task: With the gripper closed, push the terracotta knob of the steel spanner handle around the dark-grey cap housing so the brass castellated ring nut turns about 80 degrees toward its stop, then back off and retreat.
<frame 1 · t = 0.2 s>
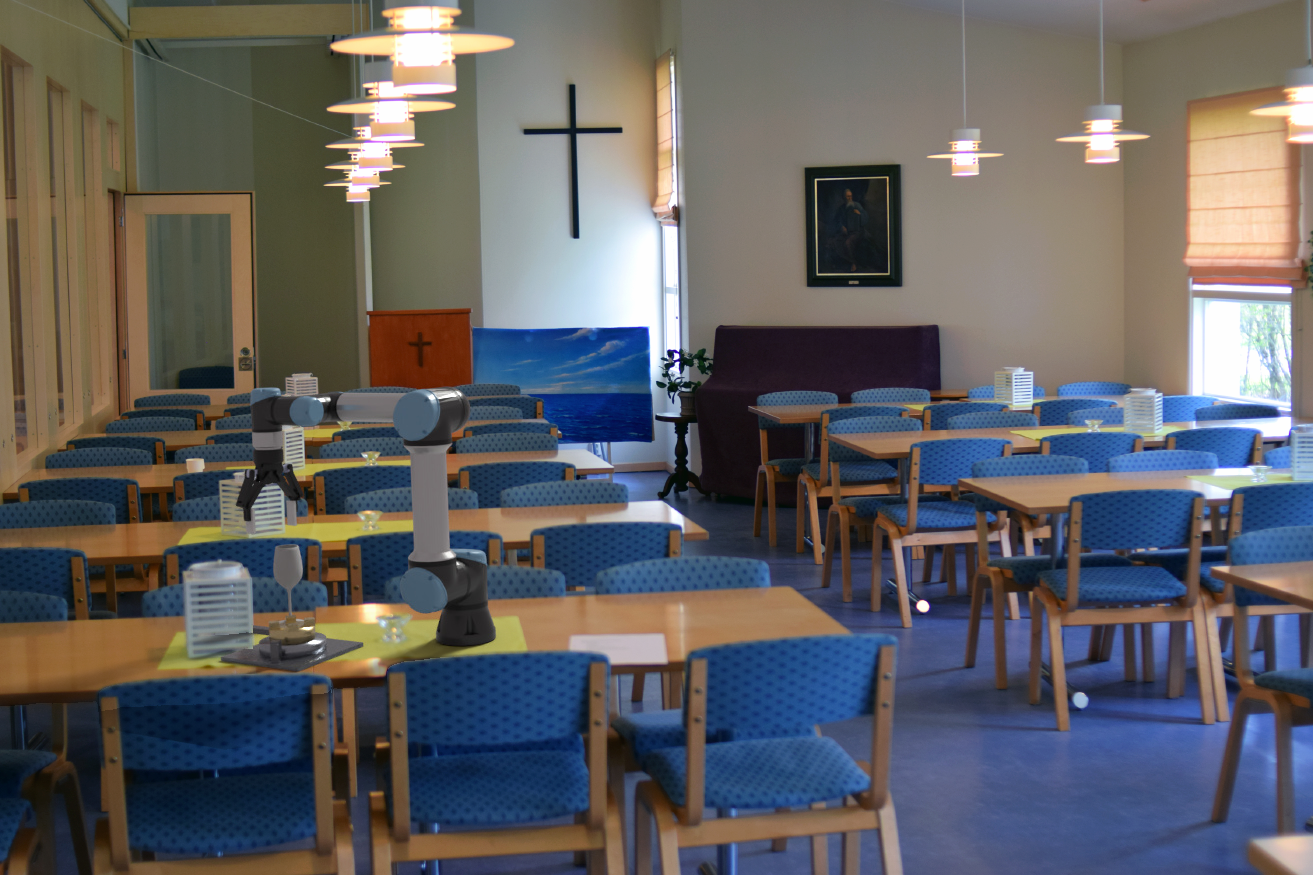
hand: (272, 529, 339), 28 cm above the table, fingers open, 13 cm apart
ring nut: (272, 621, 325), point 7 cm above the table, hinge at 0.0°
wineglass: (290, 623, 354), on the table
housing: (293, 653, 323), on the table
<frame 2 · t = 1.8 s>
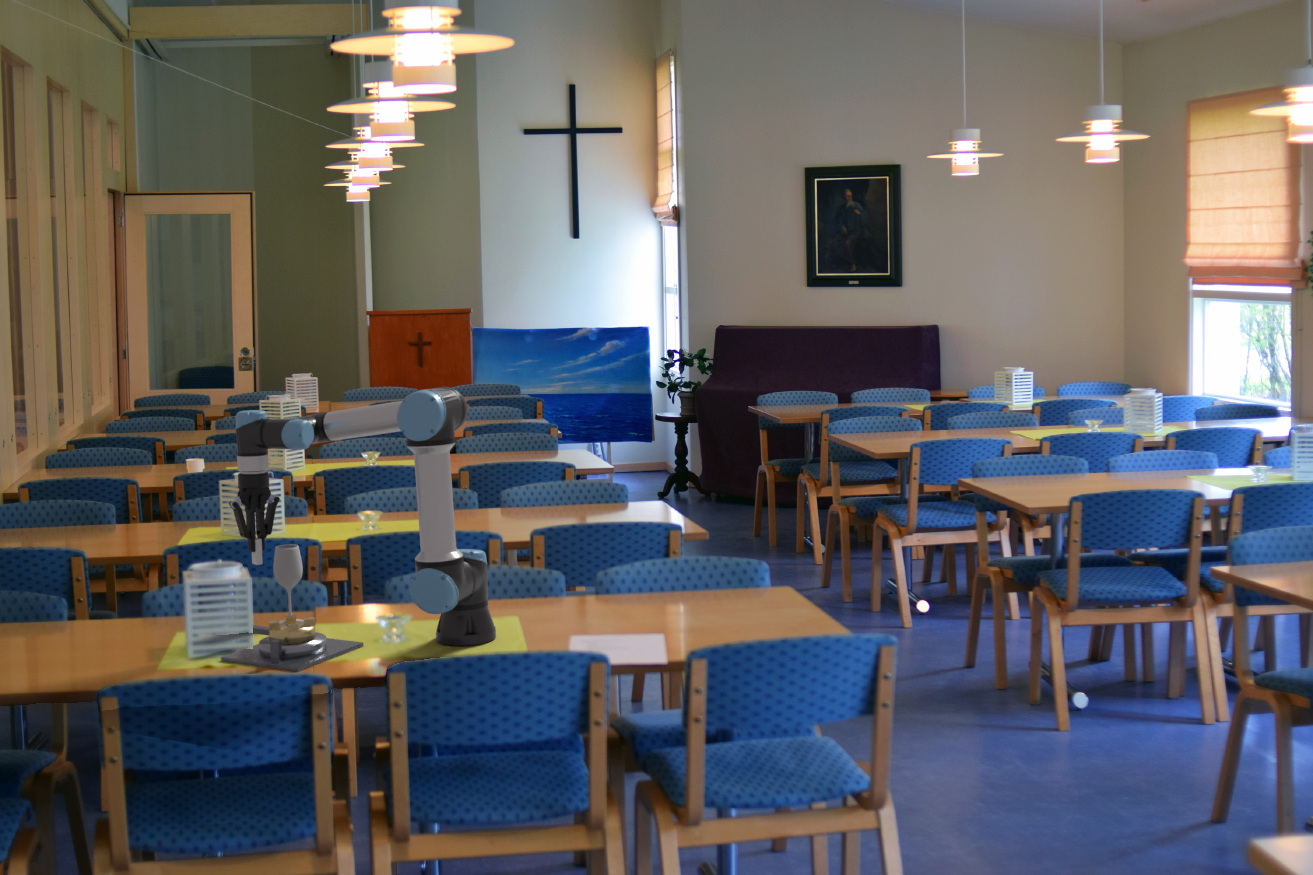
hand: (257, 563, 332), 20 cm above the table, fingers closed
nothing on the table moved.
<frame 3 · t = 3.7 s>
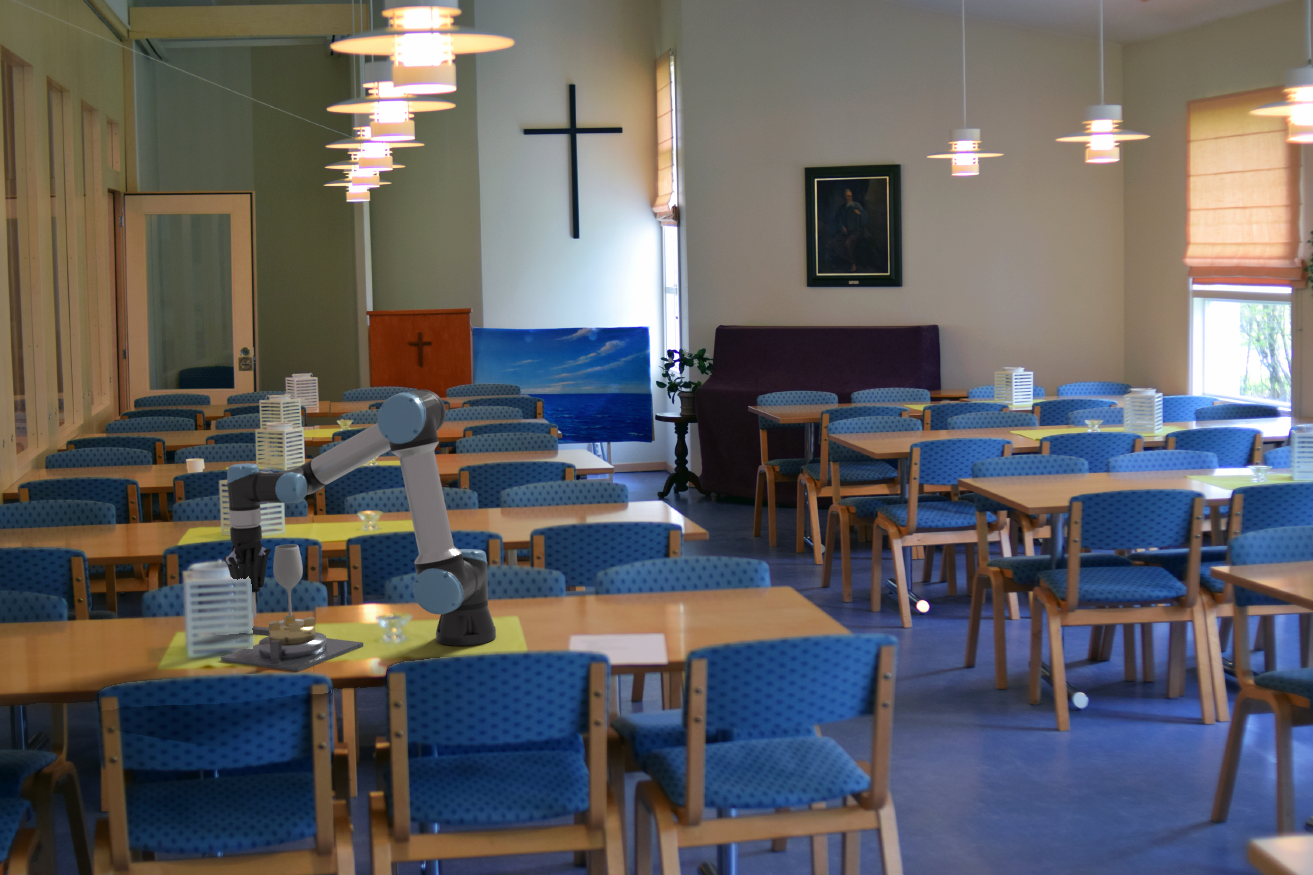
hand: (250, 617, 331), 7 cm above the table, fingers closed
ring nut: (271, 621, 324), point 7 cm above the table, hinge at 3.7°, touching gripper
everything else where it was.
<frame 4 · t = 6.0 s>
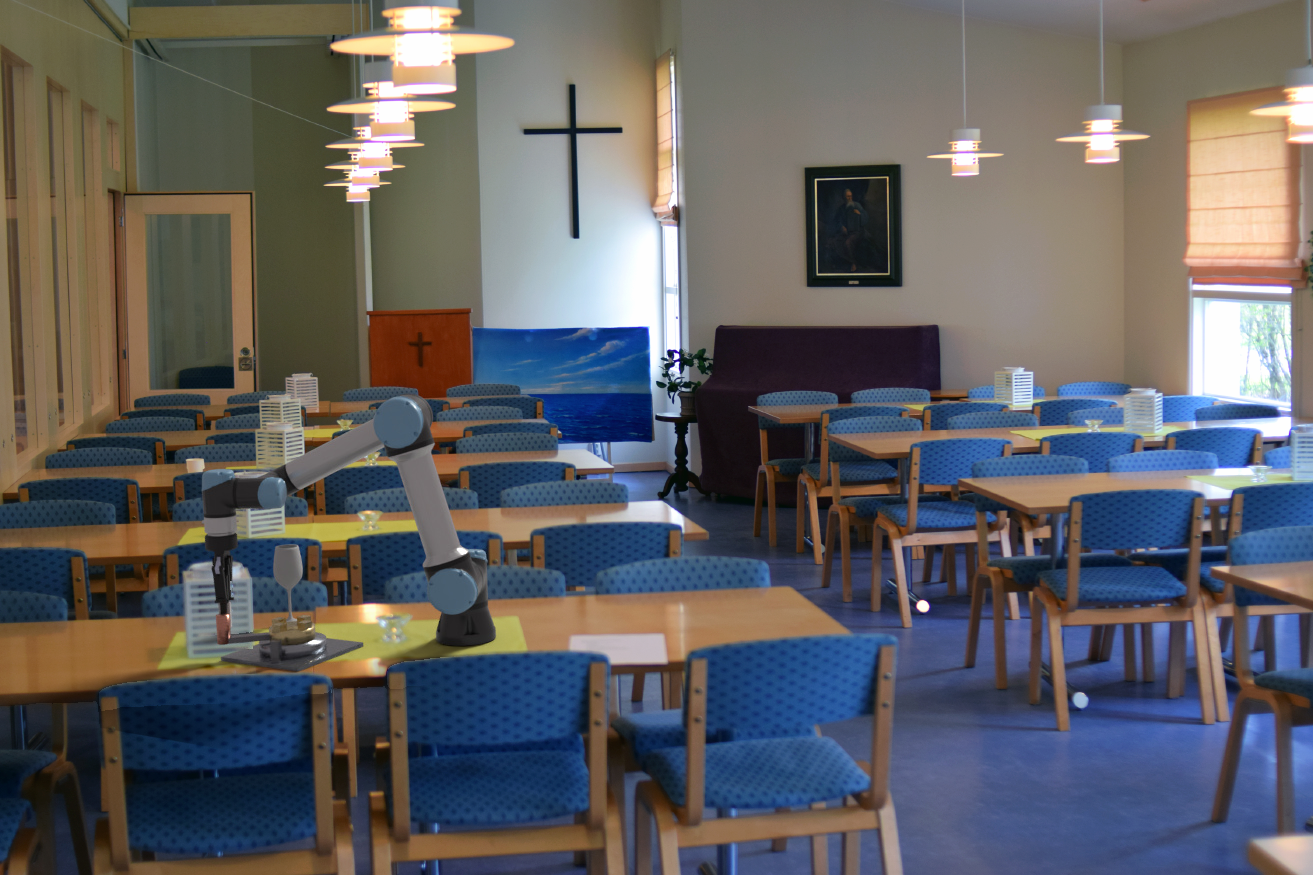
hand: (225, 627, 321), 7 cm above the table, fingers closed
ring nut: (266, 625, 320), point 7 cm above the table, hinge at 43.0°, touching gripper
everything else where it was.
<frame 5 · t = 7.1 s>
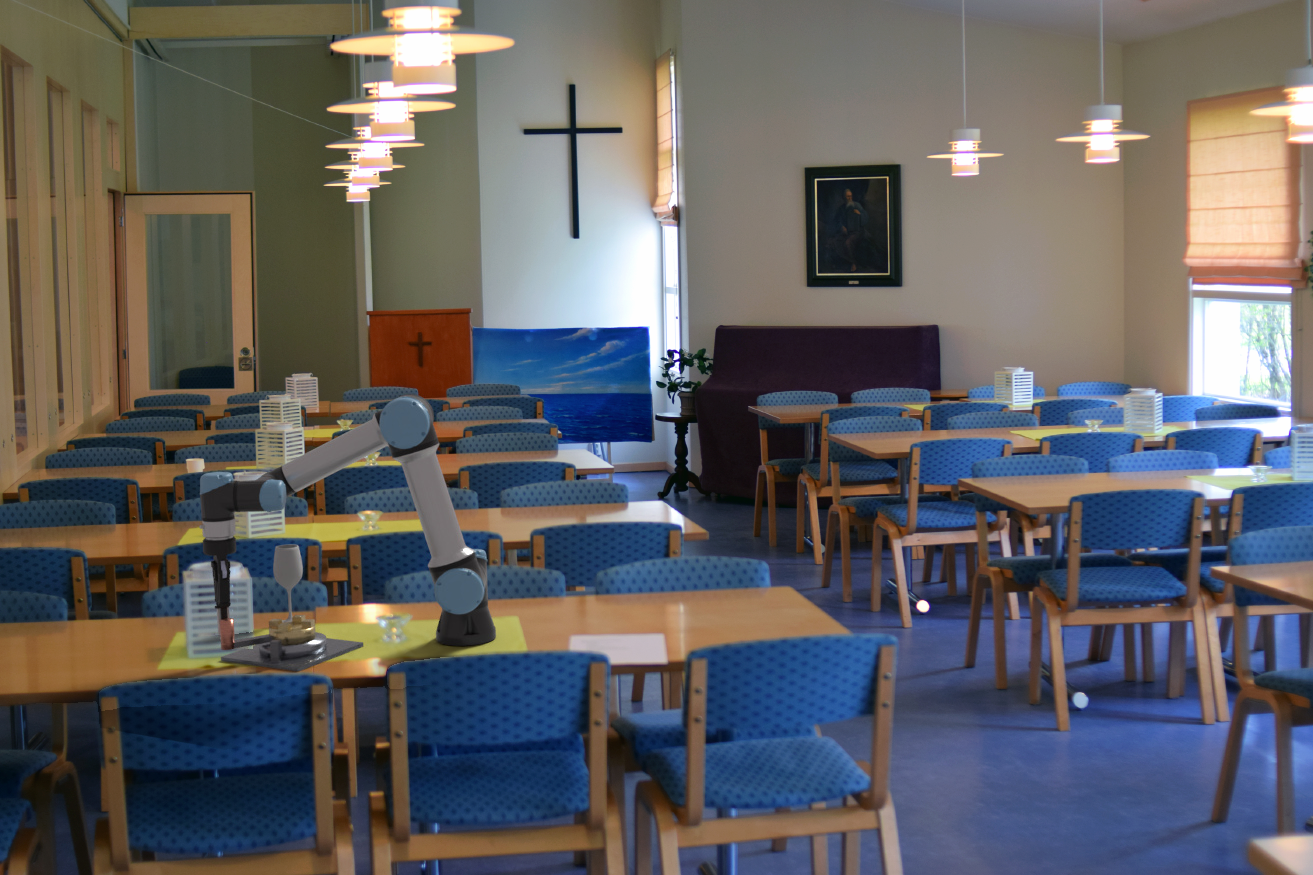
hand: (224, 633, 315), 7 cm above the table, fingers closed
ring nut: (268, 627, 318), point 7 cm above the table, hinge at 63.2°, touching gripper
everything else where it was.
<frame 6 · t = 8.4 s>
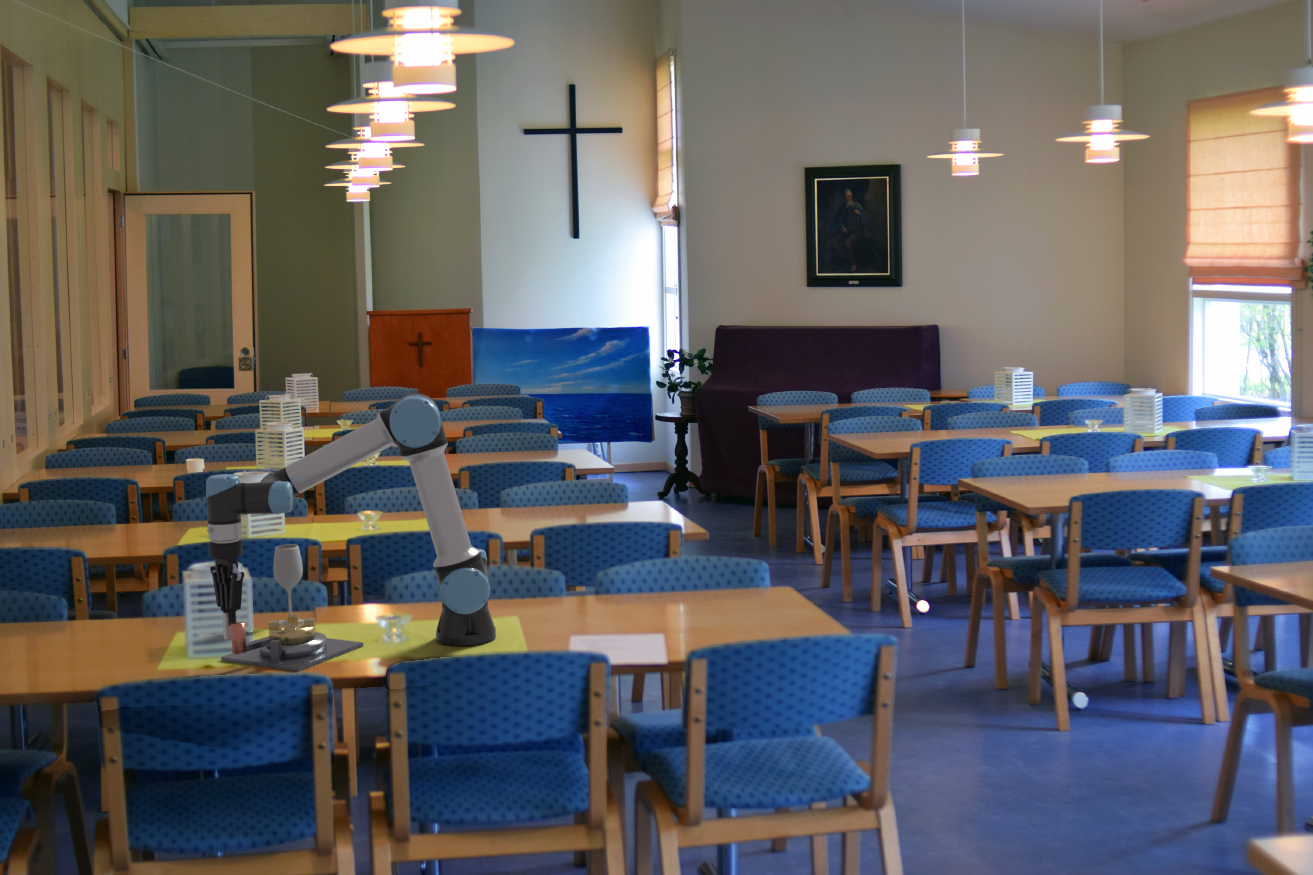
hand: (230, 637, 311), 7 cm above the table, fingers closed
ring nut: (272, 629, 317), point 7 cm above the table, hinge at 82.1°, touching gripper
everything else where it was.
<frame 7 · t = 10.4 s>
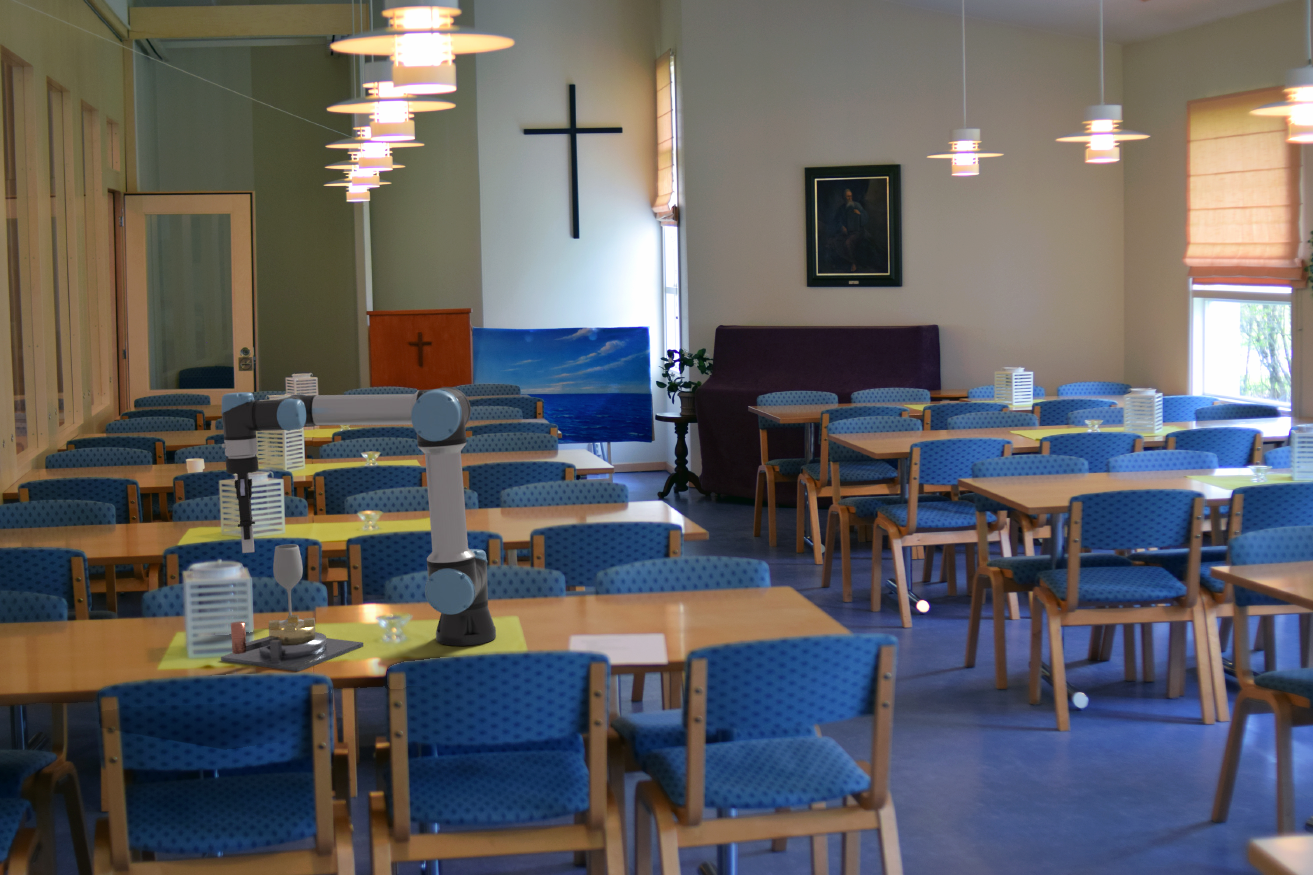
hand: (248, 551, 320), 26 cm above the table, fingers closed
ring nut: (272, 629, 317), point 7 cm above the table, hinge at 82.2°
everything else where it was.
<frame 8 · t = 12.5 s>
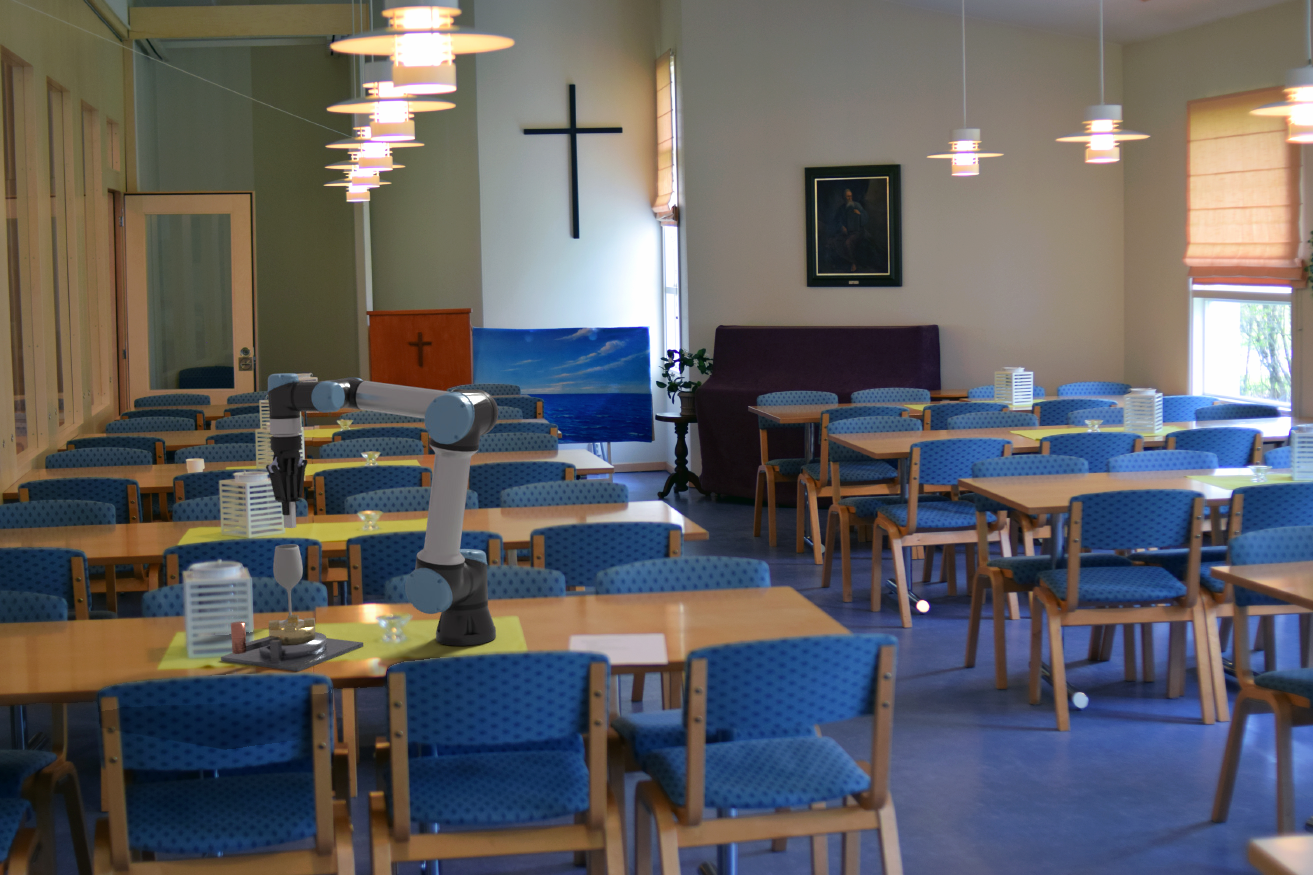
hand: (290, 527, 332), 29 cm above the table, fingers closed
nothing on the table moved.
at the end: ring nut at +82° (first picture: +0°) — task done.
